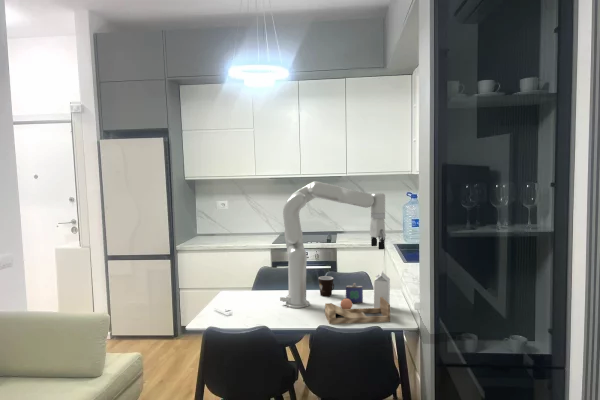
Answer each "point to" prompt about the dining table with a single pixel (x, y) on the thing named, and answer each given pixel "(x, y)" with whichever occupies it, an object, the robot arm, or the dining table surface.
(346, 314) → the wooden tray
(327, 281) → the coffee mug
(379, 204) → the robot arm
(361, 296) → the flask
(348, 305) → the ball
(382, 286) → the milk carton
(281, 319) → the dining table surface
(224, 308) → the dining table surface
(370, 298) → the dining table surface
